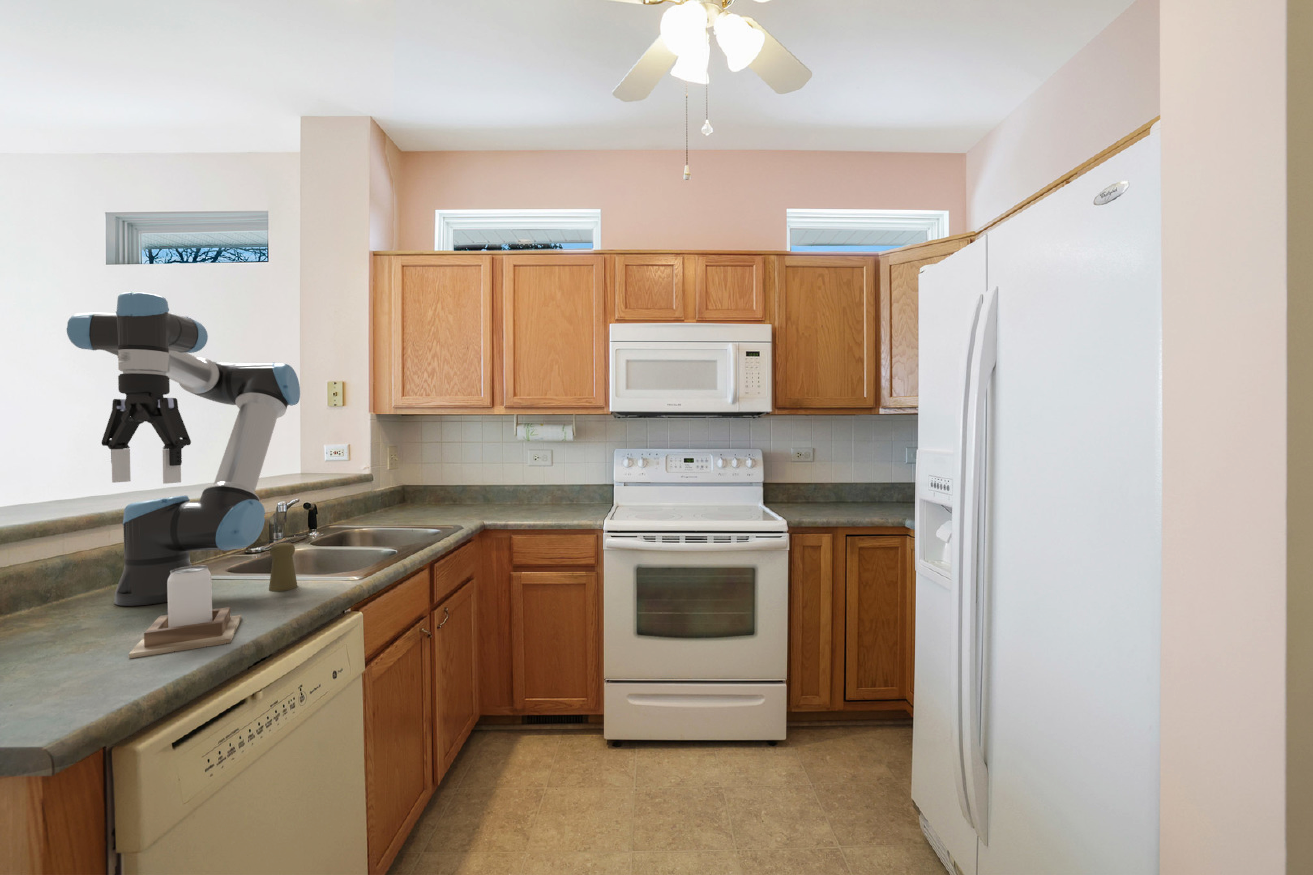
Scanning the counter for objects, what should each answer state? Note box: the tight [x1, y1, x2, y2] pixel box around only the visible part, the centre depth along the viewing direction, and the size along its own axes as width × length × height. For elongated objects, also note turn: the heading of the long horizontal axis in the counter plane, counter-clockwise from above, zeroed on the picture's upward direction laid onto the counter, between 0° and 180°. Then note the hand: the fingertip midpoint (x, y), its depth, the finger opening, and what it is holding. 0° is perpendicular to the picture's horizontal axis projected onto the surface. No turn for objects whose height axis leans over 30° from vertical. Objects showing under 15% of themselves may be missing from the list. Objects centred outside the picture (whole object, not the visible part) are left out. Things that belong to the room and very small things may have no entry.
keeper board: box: [128, 606, 242, 659], centre depth 110 cm, size 16×14×3 cm
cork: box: [268, 542, 298, 592], centre depth 144 cm, size 6×6×11 cm
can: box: [167, 565, 213, 628], centre depth 109 cm, size 6×6×12 cm
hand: (146, 482), depth 114 cm, fingers open, 13 cm apart
